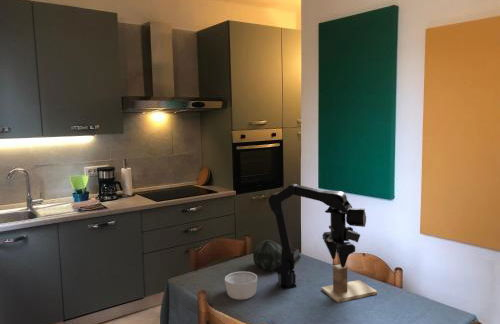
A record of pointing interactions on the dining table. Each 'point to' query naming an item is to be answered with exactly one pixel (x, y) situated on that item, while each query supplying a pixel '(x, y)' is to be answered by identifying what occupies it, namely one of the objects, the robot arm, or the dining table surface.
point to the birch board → (350, 291)
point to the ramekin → (241, 285)
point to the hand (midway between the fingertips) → (338, 262)
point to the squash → (267, 255)
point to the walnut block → (339, 279)
